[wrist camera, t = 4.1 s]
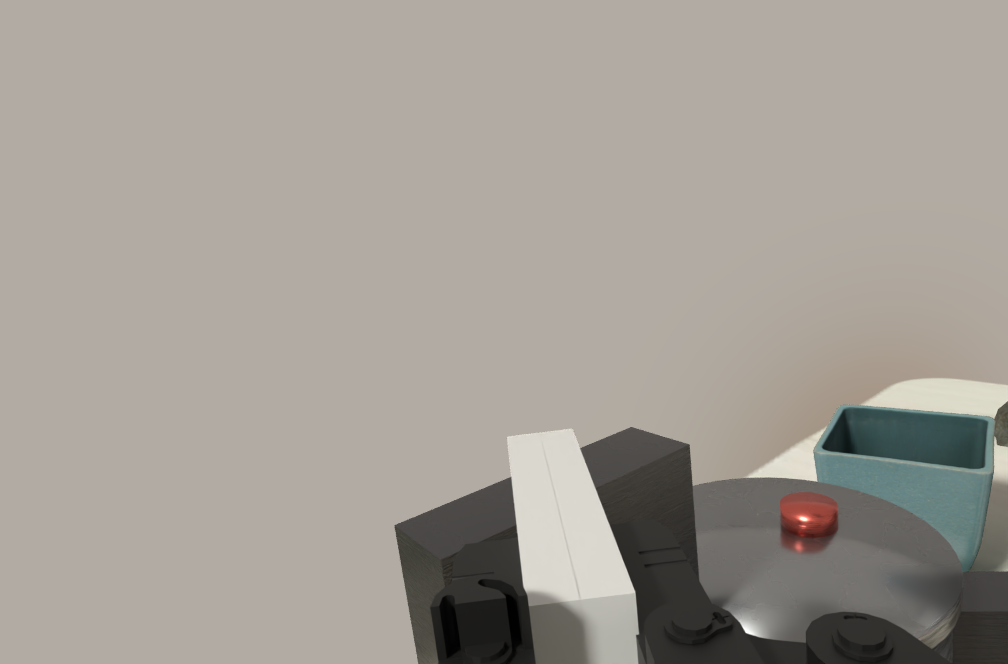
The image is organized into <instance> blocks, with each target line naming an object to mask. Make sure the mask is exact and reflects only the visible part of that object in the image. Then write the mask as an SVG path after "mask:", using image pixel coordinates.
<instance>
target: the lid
mask: <svg viewBox="0 0 1008 664" xmlns="http://www.w3.org/2000/svg"><path fill="white" fill-rule="evenodd" d="M580 450H581V452H582V455H583V458H584V460H585V463H586V465H587V468H588V471H589V473H590V476H591V478H592V481H593V484H594V486H595V489H596V491H597V494H598V497H599V499H600V502H601V504H602V507H603V510H604V512H605V515H606V517H607V520H608V523H609V524H616V523H624V522H633V521H641V520H649V519H654V520H655V521H657V522H658V523H660V524H662V525H663V526H665V527H666V528H668V529H669V530H671V531H672V533H673V534H674V536H675V538H676V540H677V542H678V543H679V545H680V548H681V550H682V551H683V552H684V554H685V556H686V558H687V560H688V563H690V565H691V567H692V569H693V570H694V572H695V574H696V576H697V578H698V579H699V581H700V583H701V585H702V587H703V588H704V590H705V592H706V594H707V595H708V597H709V599H710V601H711V603H712V604H715V605H717V606H719V607H721V608H723V609H725V610H727V611H729V612H730V613H731V614H732V615H733V616H734V617H735V618H736V619H737V620H738V621H739V622H740V624H741V625H742V627H743V629H744V630H745V632H746V633H748V634H751V635H754V636H757V637H761V638H767V639H773V640H782V641H793V642H804V643H806V630H807V628H808V627H809V625H810V624H811V622H812V621H813V620H815V619H817V618H819V617H821V616H823V615H825V614H830V613H837V612H858V613H865V614H869V615H872V616H876V617H879V618H883V619H886V620H888V621H890V622H891V623H893V624H895V625H897V626H899V627H901V628H903V629H904V630H906V631H907V632H909V633H910V634H911V635H913V636H914V637H916V638H917V639H918V640H920V641H921V642H923V643H924V644H926V645H927V646H928V647H930V648H931V649H932V648H933V647H935V646H936V645H937V644H938V643H940V642H941V641H942V640H944V639H945V638H946V637H947V635H948V634H949V633H950V632H951V631H952V629H953V628H954V627H955V625H956V623H957V621H958V619H959V616H960V614H961V609H962V602H963V574H962V566H961V563H960V561H959V558H958V556H957V554H956V552H955V551H954V549H953V548H952V546H951V545H950V543H949V542H948V541H947V540H946V539H945V538H944V537H943V536H942V535H941V534H940V533H939V532H938V531H937V530H936V529H935V528H933V527H932V526H931V525H929V524H928V523H927V522H926V521H924V520H922V519H921V518H919V517H918V516H916V515H914V514H913V513H911V512H909V511H907V510H905V509H903V508H901V507H899V506H897V505H895V504H893V503H891V502H888V501H886V500H883V499H881V498H878V497H876V496H873V495H870V494H866V493H863V492H860V491H857V490H853V489H849V488H845V487H841V486H837V485H832V484H827V483H821V482H814V481H807V480H798V479H787V478H741V479H729V480H722V481H715V482H710V483H704V484H699V485H695V486H692V472H691V459H690V445H689V444H686V443H682V442H679V441H676V440H672V439H669V438H665V437H662V436H659V435H655V434H652V433H649V432H646V431H643V430H639V429H636V428H633V427H630V428H628V429H626V430H623V431H621V432H618V433H616V434H614V435H611V436H609V437H606V438H604V439H601V440H599V441H597V442H594V443H592V444H589V445H587V446H585V447H582V448H580ZM395 531H396V537H397V542H398V549H399V554H400V560H401V566H402V572H403V578H404V583H405V589H406V595H407V600H408V606H409V612H410V618H411V624H412V629H413V635H414V641H415V646H416V652H417V658H418V664H438V656H437V649H436V642H435V636H434V629H433V623H432V616H431V610H430V606H431V604H432V602H433V599H434V597H435V595H437V594H438V593H439V592H440V591H441V590H442V589H443V588H444V587H445V586H447V585H449V584H451V583H452V570H453V560H454V558H455V557H456V556H457V554H458V553H459V552H460V550H461V549H462V548H463V546H464V545H465V544H470V543H479V542H487V541H495V540H503V539H511V538H518V533H517V524H516V515H515V506H514V497H513V488H512V479H511V477H510V478H507V479H505V480H503V481H500V482H498V483H496V484H493V485H491V486H488V487H486V488H484V489H481V490H479V491H476V492H474V493H471V494H469V495H467V496H464V497H462V498H459V499H457V500H454V501H452V502H450V503H447V504H445V505H442V506H440V507H438V508H435V509H433V510H431V511H428V512H426V513H423V514H421V515H418V516H416V517H414V518H411V519H409V520H406V521H404V522H401V523H399V524H397V525H395Z"/></svg>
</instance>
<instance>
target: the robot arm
mask: <svg viewBox="0 0 1008 664" xmlns="http://www.w3.org/2000/svg"><path fill="white" fill-rule="evenodd" d="M507 443H508V452H509V460H510V470H511V479H512V488H513V497H514V506H515V515H516V524H517V533H518V538H511V539H503V540H495V541H487V542H479V543H470V544H465V545H464V546H463V548H462V549H461V550H460V552H459V553H458V554H457V556H456V557H455V558H454V560H453V570H452V583H451V584H449V585H447V586H445V587H444V588H443V589H442V590H441V591H440V592H439V593H438V594H437V595H435V597H434V599H433V602H432V604H431V606H430V610H431V616H432V623H433V629H434V636H435V642H436V649H437V656H438V664H952V663H951V662H950V661H948V660H947V659H945V658H944V657H942V656H941V655H940V654H938V653H937V652H935V651H934V650H933V649H931V648H930V647H928V646H927V645H926V644H924V643H923V642H921V641H920V640H918V639H917V638H916V637H914V636H913V635H911V634H910V633H909V632H907V631H906V630H904V629H903V628H901V627H899V626H897V625H895V624H893V623H891V622H890V621H888V620H886V619H883V618H879V617H876V616H872V615H869V614H865V613H858V612H837V613H830V614H825V615H823V616H821V617H819V618H817V619H815V620H813V621H812V622H811V624H810V625H809V627H808V628H807V630H806V643H804V642H793V641H782V640H773V639H767V638H761V637H757V636H754V635H751V634H748V633H746V632H745V630H744V629H743V627H742V625H741V624H740V622H739V621H738V620H737V619H736V618H735V617H734V616H733V615H732V614H731V613H730V612H729V611H727V610H725V609H723V608H721V607H719V606H717V605H715V604H712V603H711V601H710V599H709V597H708V595H707V594H706V592H705V590H704V588H703V587H702V585H701V583H700V581H699V579H698V578H697V576H696V574H695V572H694V570H693V569H692V567H691V565H690V563H688V560H687V558H686V556H685V554H684V552H683V551H682V550H681V548H680V545H679V543H678V542H677V540H676V538H675V536H674V534H673V533H672V531H671V530H669V529H668V528H666V527H665V526H663V525H662V524H660V523H658V522H657V521H655V520H654V519H649V520H641V521H633V522H624V523H616V524H609V523H608V520H607V517H606V515H605V512H604V510H603V507H602V504H601V502H600V499H599V497H598V494H597V491H596V489H595V486H594V484H593V481H592V478H591V476H590V473H589V471H588V468H587V465H586V463H585V460H584V458H583V455H582V452H581V450H580V447H579V445H578V442H577V439H576V437H575V434H574V431H573V429H565V430H557V431H549V432H541V433H533V434H525V435H517V436H508V437H507Z"/></svg>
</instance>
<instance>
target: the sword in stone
mask: <svg viewBox="0 0 1008 664" xmlns="http://www.w3.org/2000/svg"><path fill="white" fill-rule="evenodd" d="M994 420H995V421H996V425H995V433H994V436H995V437H996V440H997V445H1000V446H1006V447H1008V402H1006V403H1005V404H1004V405H1003V406H1002V407H1000V408H999V409H998V411H997V414H996V416H995V419H994Z"/></svg>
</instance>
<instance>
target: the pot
mask: <svg viewBox="0 0 1008 664" xmlns="http://www.w3.org/2000/svg"><path fill="white" fill-rule="evenodd" d="M962 574H963V602H962V609H961V614H960V616H959V619H958V621H957V623H956V625H955V627H954V628H953V629H952V631H951V632H950V633H949V634H948V635H947V637H946V638H945V639H944V640H942V641H941V642H940V643H938V644H937V645H936V646H935V647H933V648H932V649H933V650H934V651H935V652H937V653H938V654H940V655H941V656H942V657H944V658H945V659H947V660H948V661H950V662H951V663H952V664H1008V572H962Z"/></svg>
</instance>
